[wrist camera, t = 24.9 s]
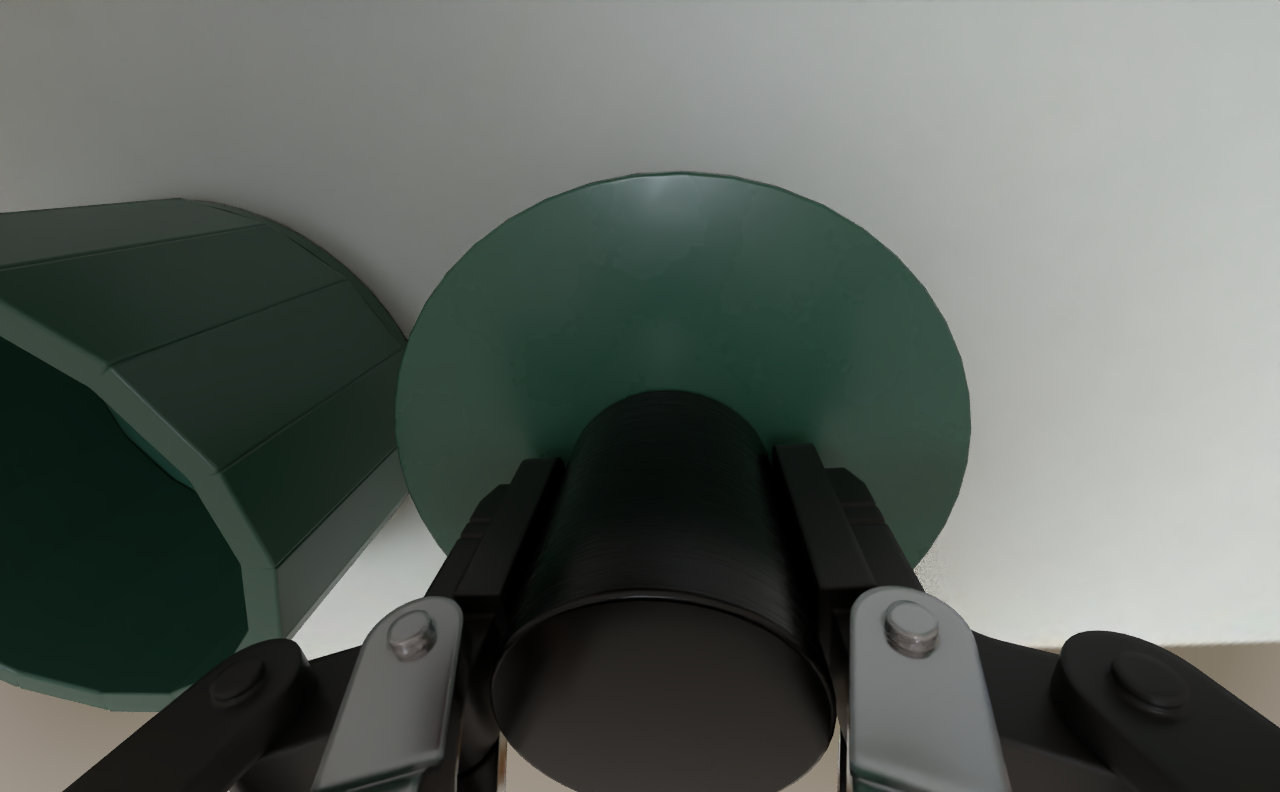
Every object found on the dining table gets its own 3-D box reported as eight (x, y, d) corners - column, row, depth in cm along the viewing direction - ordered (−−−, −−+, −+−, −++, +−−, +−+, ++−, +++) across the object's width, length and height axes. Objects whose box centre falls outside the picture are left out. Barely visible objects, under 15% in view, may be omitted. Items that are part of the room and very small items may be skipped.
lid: (489, 632, 15) (372, 915, 9) (340, 209, 10) (-111, 280, 4) (911, 626, 13) (1071, 959, 8) (993, 127, 8) (1608, 71, 3)
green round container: (191, 534, 18) (-38, 709, 13) (-9, 224, 14) (-521, 276, 8) (471, 523, 17) (359, 715, 11) (355, 174, 12) (58, 191, 6)
